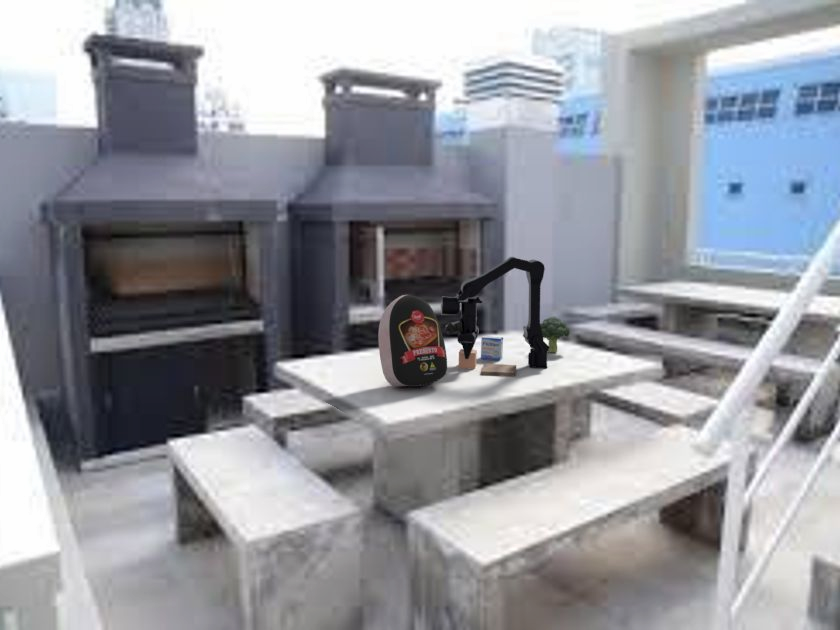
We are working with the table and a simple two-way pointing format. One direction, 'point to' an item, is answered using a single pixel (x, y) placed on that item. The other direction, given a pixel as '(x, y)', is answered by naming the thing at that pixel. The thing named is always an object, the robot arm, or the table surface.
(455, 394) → the table surface
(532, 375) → the table surface
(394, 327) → the packaged food
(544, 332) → the vegetable
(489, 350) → the medicine box
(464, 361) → the terracotta cube
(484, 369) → the walnut board
